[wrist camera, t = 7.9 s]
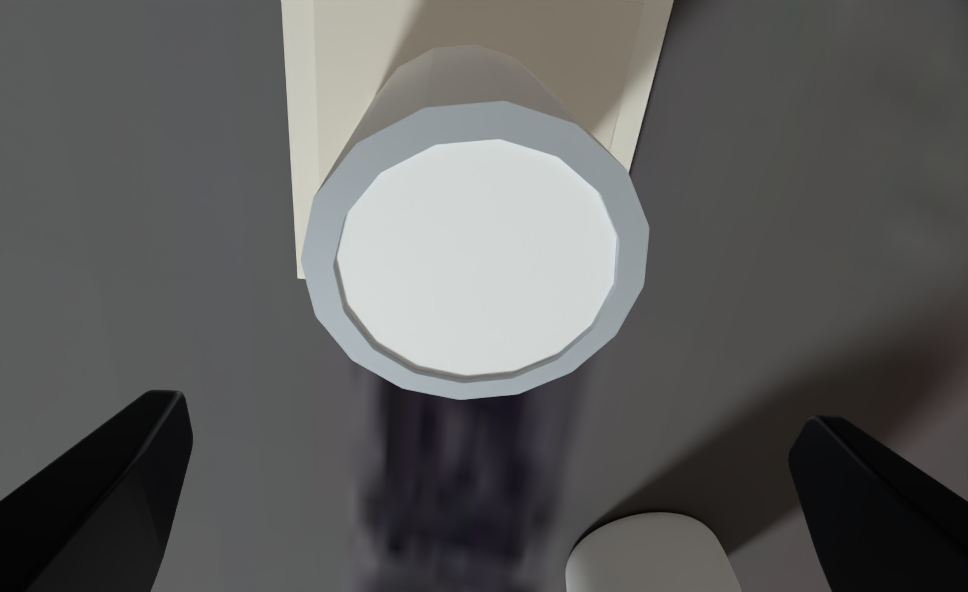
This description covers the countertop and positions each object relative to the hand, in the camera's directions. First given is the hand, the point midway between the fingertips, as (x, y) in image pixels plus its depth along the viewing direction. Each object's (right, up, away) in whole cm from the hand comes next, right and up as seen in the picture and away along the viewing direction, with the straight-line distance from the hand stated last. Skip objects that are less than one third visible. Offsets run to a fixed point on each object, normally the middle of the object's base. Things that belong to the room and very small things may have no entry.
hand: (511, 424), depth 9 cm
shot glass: (-1, +6, +9) cm, 11 cm away
